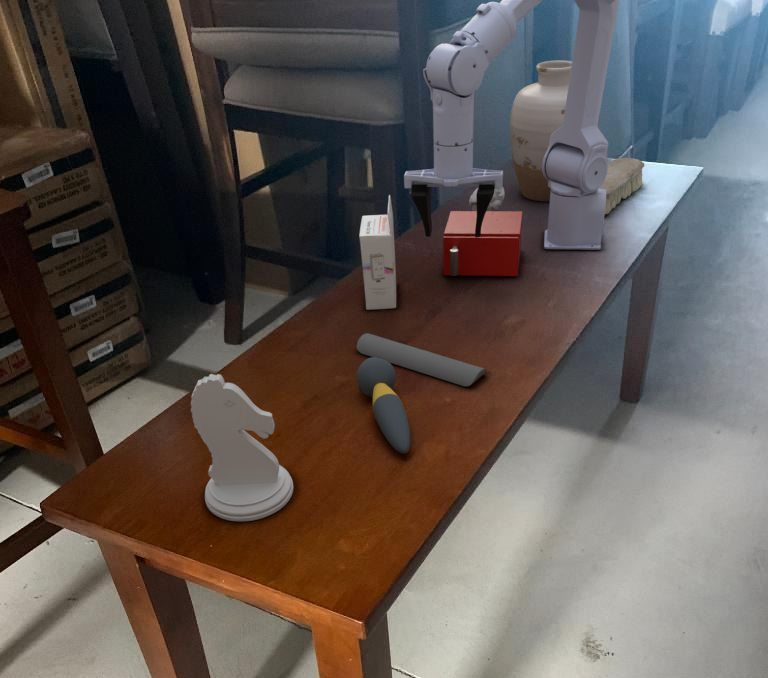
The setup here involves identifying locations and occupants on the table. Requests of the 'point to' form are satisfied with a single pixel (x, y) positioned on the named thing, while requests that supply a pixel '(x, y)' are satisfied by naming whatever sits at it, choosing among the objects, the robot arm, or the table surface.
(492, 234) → the cabinet
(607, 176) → the shoe brush
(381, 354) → the gray half cylinder
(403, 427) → the wand massager
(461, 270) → the red cabinet door
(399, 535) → the table surface
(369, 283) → the ink cartridge box
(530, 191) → the vase
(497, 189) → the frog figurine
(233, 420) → the chess piece
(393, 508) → the table surface
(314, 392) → the table surface
